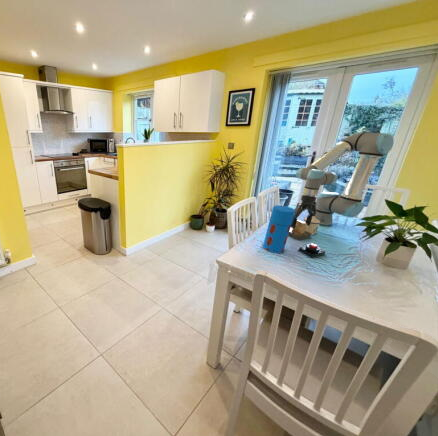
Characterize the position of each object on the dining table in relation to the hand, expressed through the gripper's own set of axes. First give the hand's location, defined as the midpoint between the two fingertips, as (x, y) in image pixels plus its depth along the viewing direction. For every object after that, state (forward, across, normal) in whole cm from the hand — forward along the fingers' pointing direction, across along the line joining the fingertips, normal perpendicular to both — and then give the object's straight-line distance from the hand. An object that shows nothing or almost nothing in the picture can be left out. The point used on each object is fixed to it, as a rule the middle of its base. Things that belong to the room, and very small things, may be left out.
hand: (299, 226), depth 148 cm
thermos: (+7, -30, -8) cm, 32 cm away
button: (+3, -13, -19) cm, 23 cm away
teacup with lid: (+7, +14, +2) cm, 16 cm away
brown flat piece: (+7, 0, 0) cm, 7 cm away
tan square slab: (+4, 0, 0) cm, 4 cm away
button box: (+7, -13, -19) cm, 24 cm away
